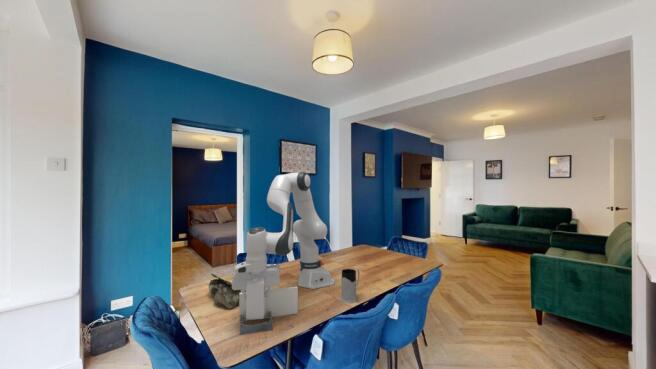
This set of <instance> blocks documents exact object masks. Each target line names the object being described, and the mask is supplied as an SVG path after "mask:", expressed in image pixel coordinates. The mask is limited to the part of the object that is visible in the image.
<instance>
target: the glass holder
mask: <svg viewBox="0 0 656 369" xmlns="http://www.w3.org/2000/svg"><path fill="white" fill-rule="evenodd" d="M357 274H358V275H357ZM340 278H341V279H340V280H341V286H340V287H341V288H340V289H341V292H340V293H341V295H340V301H341V302H342V303H345V304H353V303H356V302H357V301H358V299H357V286H358V284H359V280H360V270H359V269H356V270H355V269H353V268H352V269H351V268H345V269H342V270H341V277H340Z"/></svg>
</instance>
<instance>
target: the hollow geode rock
mask: <svg viewBox="0 0 656 369" xmlns="http://www.w3.org/2000/svg"><path fill="white" fill-rule="evenodd" d="M211 276H212V278H214V279H210V281H209V284H208V292H209V294H211V295H212V296H213V302H214V303H216V304H217V303H218V302H219V304H222V305H224V306H225V307H226V308H227V309H234V308H235V307H236V305H237V304H238V305H239V293H242V289H241V290H233V289H232V282H231V281H229V280H225V279H223V278H221V277H218V276H217V275H216V274H214V273H211ZM245 292H246V289H245Z"/></svg>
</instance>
